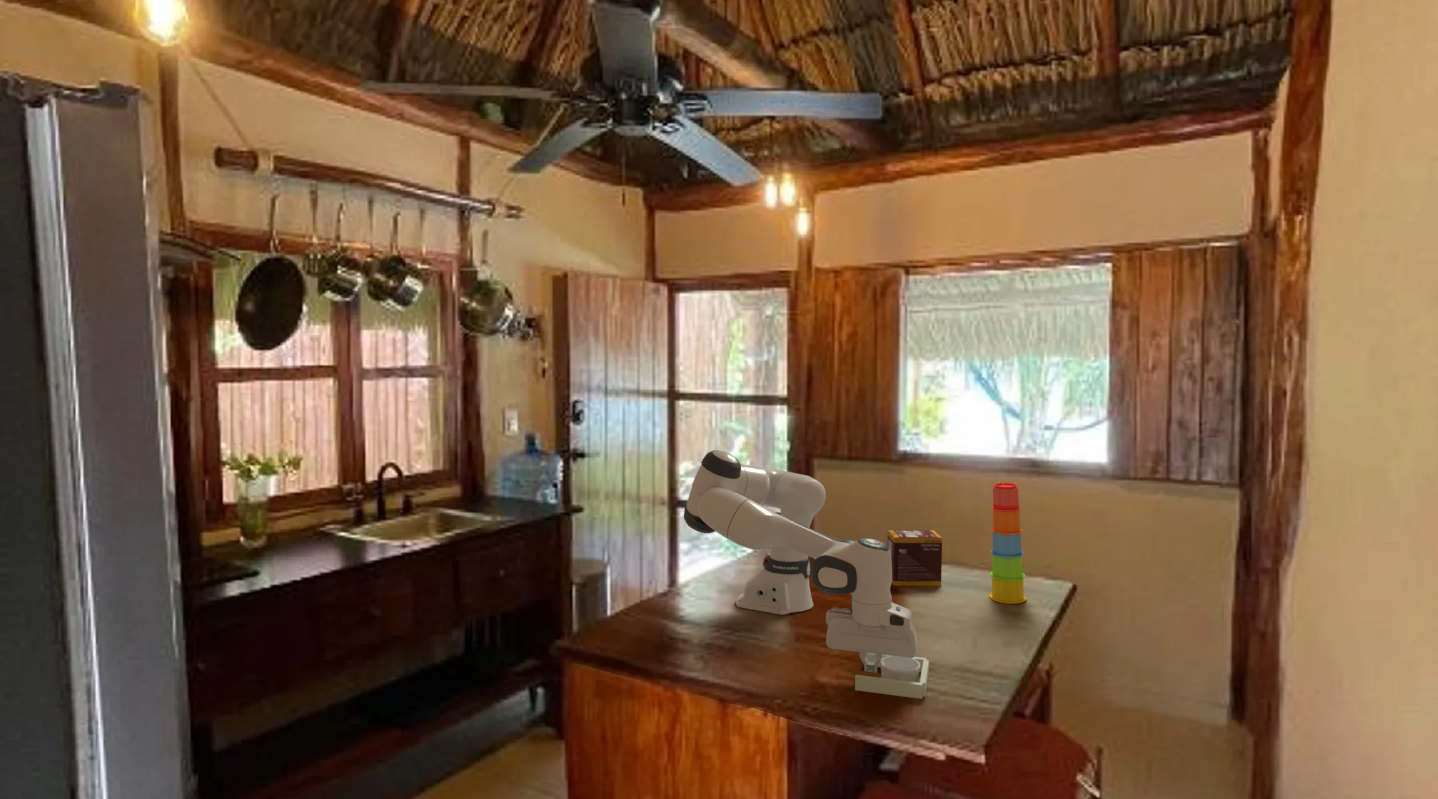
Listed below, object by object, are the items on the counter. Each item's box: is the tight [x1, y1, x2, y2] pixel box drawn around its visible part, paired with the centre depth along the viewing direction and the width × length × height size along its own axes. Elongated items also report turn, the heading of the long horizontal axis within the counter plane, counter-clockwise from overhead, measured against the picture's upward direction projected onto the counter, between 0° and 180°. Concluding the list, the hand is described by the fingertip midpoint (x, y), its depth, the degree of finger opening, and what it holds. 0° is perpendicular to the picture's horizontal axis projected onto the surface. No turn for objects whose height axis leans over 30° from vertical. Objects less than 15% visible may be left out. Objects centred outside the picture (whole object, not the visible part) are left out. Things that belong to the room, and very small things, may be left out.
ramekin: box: [880, 656, 920, 682], centre depth 175 cm, size 9×9×4 cm
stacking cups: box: [989, 482, 1027, 605], centre depth 232 cm, size 10×10×35 cm
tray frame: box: [854, 653, 930, 700], centre depth 176 cm, size 15×15×3 cm
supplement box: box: [886, 529, 943, 587], centre depth 251 cm, size 10×15×16 cm
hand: (870, 671), depth 177 cm, fingers closed
